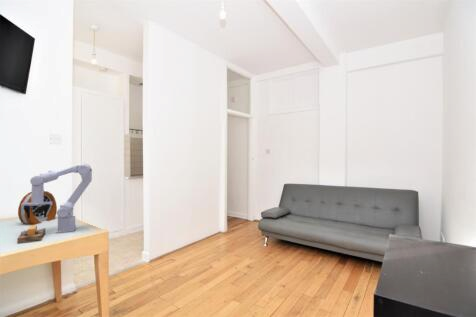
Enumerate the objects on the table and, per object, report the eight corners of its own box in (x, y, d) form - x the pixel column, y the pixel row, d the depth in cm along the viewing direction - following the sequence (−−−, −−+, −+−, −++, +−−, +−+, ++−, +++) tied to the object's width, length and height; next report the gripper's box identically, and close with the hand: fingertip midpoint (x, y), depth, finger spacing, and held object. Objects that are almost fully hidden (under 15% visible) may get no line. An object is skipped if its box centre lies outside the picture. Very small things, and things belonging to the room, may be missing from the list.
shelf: (45, 233, 148) (45, 225, 148) (41, 240, 135) (41, 232, 135) (23, 235, 143) (23, 227, 142) (17, 243, 130) (17, 235, 130)
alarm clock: (29, 226, 161) (30, 192, 161) (17, 225, 163) (17, 191, 163) (59, 218, 183) (59, 188, 183) (47, 217, 184) (48, 187, 184)
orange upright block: (36, 234, 142) (36, 225, 142) (34, 238, 136) (34, 228, 136) (30, 235, 141) (30, 226, 141) (27, 239, 135) (27, 229, 135)
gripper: (20, 197, 141) (19, 220, 141) (51, 195, 148) (51, 217, 148) (23, 195, 147) (22, 217, 147) (53, 194, 154) (52, 215, 154)
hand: (37, 217), depth 148 cm, fingers open, 7 cm apart
